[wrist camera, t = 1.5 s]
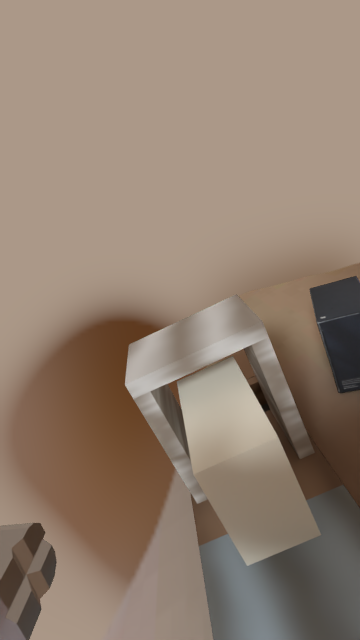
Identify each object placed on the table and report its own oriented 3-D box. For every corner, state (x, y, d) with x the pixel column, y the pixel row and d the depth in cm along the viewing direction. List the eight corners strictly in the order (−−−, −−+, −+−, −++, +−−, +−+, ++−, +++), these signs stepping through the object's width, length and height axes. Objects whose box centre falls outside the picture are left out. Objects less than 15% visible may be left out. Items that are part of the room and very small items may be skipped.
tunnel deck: (274, 394, 48) (224, 276, 41) (494, 726, 18) (436, 482, 11) (189, 432, 48) (127, 321, 42) (263, 813, 18) (87, 629, 12)
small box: (398, 384, 40) (378, 307, 36) (338, 395, 42) (314, 324, 39) (375, 338, 49) (357, 272, 45) (327, 349, 52) (306, 288, 48)
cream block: (267, 431, 37) (232, 355, 33) (321, 534, 25) (278, 437, 22) (215, 454, 37) (176, 381, 34) (247, 566, 26) (193, 474, 22)
